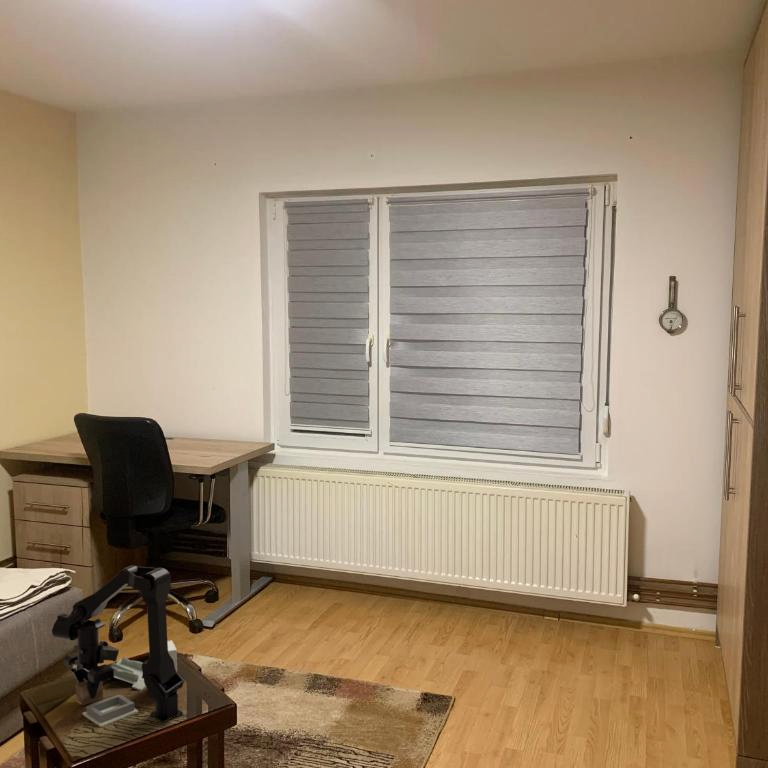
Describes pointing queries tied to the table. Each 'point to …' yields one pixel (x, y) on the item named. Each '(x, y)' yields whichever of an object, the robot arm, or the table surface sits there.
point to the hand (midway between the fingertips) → (89, 695)
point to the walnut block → (87, 693)
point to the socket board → (110, 710)
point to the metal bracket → (129, 672)
